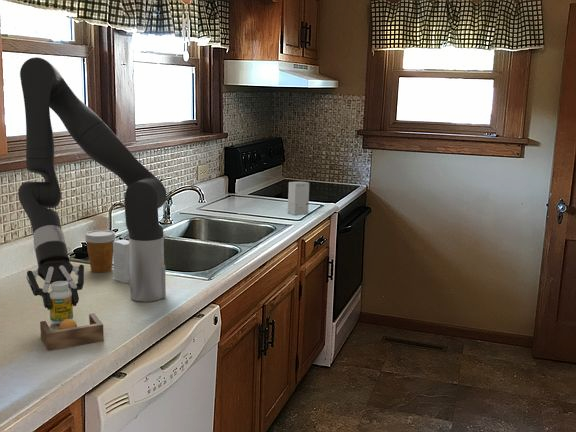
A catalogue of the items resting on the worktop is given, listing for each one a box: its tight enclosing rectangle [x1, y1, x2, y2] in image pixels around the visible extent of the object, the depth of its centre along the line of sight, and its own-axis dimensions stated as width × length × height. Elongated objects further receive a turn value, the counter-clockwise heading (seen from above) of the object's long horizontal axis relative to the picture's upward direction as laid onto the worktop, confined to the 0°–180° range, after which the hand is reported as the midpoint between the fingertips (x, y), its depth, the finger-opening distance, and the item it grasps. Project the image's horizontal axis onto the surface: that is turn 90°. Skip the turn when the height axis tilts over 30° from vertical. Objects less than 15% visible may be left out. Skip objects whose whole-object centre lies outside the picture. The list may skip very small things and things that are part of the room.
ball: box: [58, 319, 78, 330], centre depth 150 cm, size 4×4×4 cm
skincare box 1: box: [113, 239, 130, 284], centre depth 191 cm, size 6×4×12 cm
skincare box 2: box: [287, 181, 310, 216], centre depth 296 cm, size 8×6×15 cm
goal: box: [39, 313, 105, 352], centre depth 148 cm, size 12×8×4 cm, turn 121°
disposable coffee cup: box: [83, 229, 117, 273], centre depth 201 cm, size 10×10×12 cm
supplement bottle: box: [48, 281, 74, 325], centre depth 156 cm, size 5×5×10 cm
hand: (62, 306), depth 155 cm, fingers closed on supplement bottle, 5 cm apart
